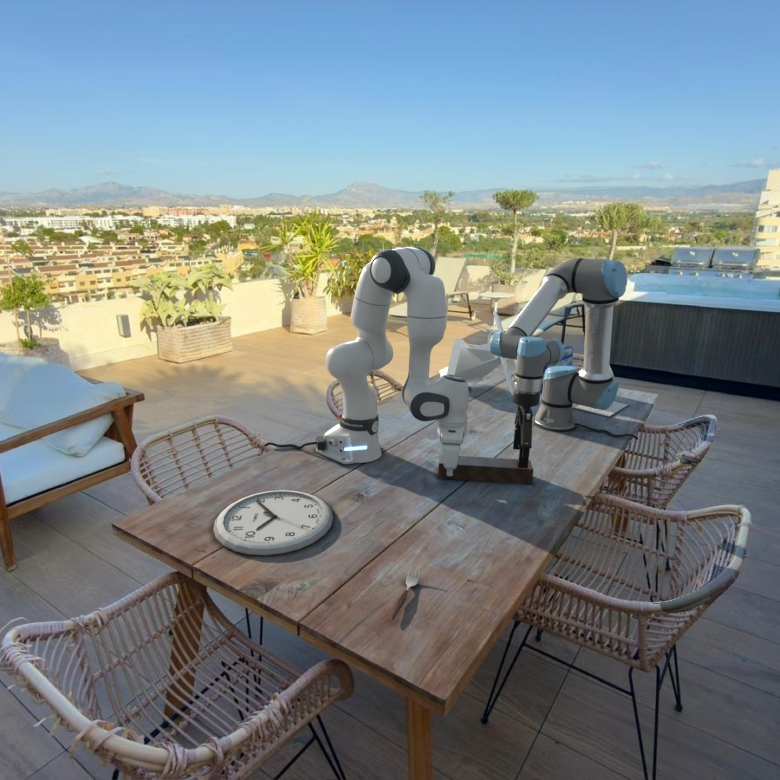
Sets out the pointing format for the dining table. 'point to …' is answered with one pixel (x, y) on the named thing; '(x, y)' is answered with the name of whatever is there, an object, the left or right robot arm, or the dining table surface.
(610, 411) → the invitation card
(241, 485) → the dining table surface
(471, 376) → the white plastic object
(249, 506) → the wall clock
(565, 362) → the lunch box
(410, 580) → the fork
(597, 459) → the dining table surface
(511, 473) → the walnut beam
